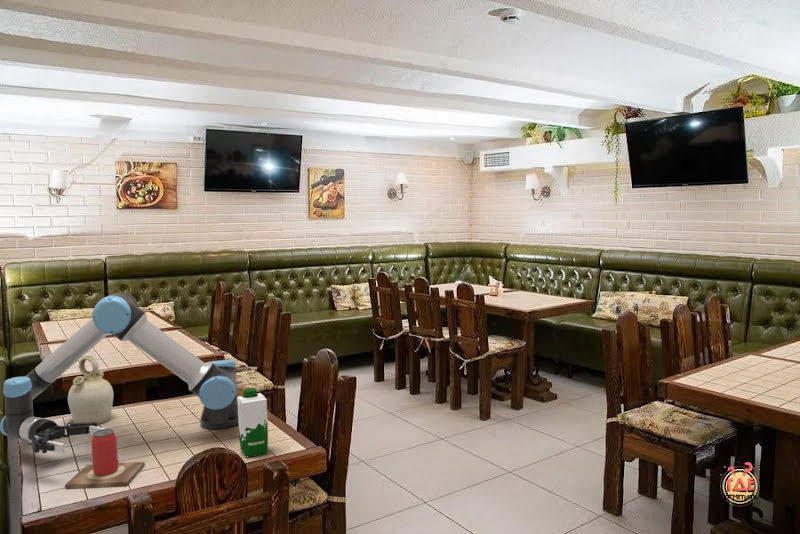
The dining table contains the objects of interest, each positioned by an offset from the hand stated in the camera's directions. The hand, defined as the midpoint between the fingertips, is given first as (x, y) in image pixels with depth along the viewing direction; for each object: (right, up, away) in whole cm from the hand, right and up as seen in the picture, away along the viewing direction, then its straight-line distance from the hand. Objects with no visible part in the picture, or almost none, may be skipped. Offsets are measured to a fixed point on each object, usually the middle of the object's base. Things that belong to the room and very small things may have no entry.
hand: (84, 440), depth 180 cm
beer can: (+8, -8, -3) cm, 12 cm away
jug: (-22, -6, +47) cm, 52 cm away
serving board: (+8, -10, -3) cm, 13 cm away
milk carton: (+48, -8, +14) cm, 50 cm away
